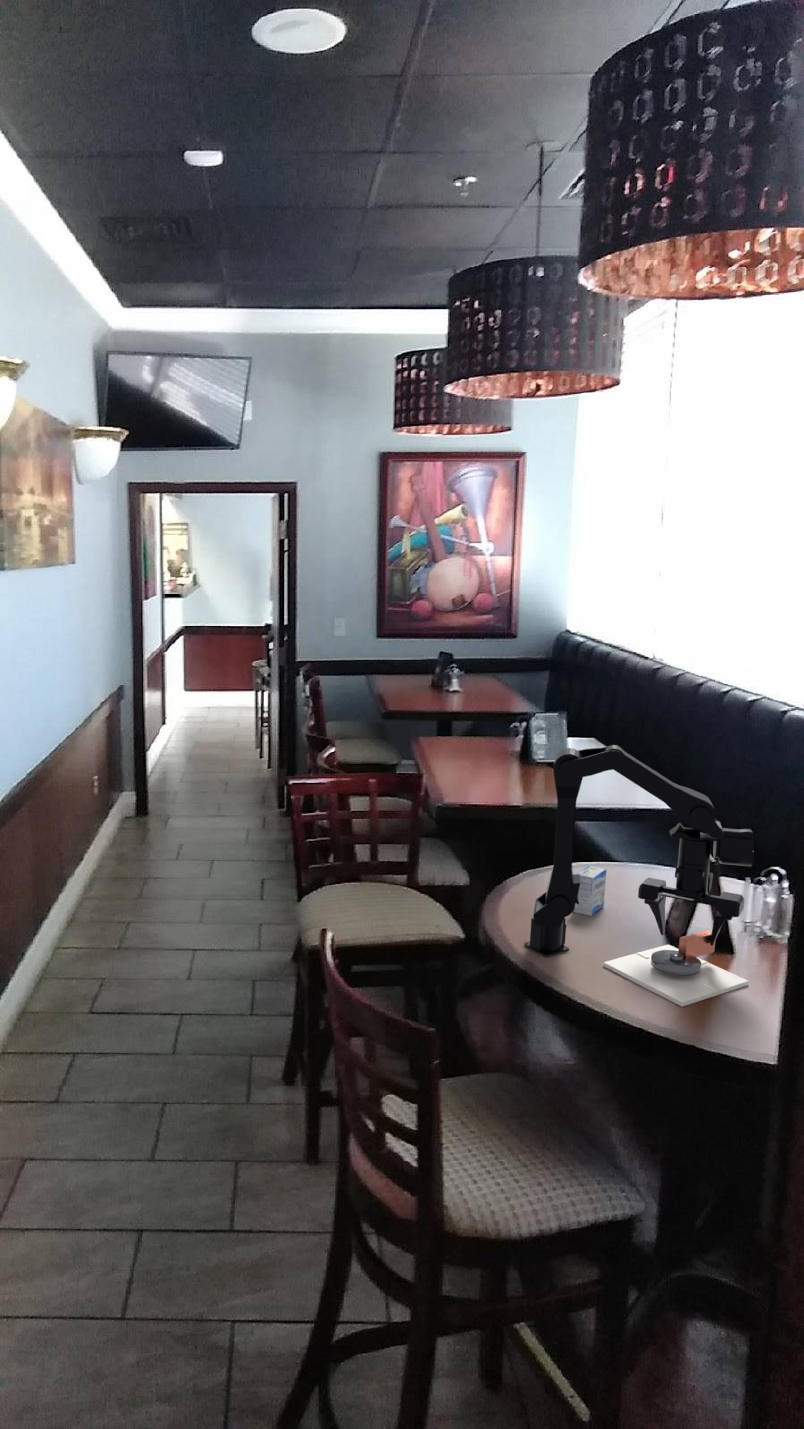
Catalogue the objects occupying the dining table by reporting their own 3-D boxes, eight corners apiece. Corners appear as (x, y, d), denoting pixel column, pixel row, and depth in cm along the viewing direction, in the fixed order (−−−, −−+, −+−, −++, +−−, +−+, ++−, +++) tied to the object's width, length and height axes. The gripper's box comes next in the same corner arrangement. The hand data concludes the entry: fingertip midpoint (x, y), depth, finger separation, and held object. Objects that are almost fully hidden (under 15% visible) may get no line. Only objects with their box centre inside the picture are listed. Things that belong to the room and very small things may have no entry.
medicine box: (591, 916, 214) (594, 878, 213) (571, 912, 217) (574, 873, 215) (604, 906, 221) (607, 868, 219) (585, 902, 223) (588, 864, 222)
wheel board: (682, 1006, 174) (682, 998, 173) (603, 966, 189) (603, 958, 189) (748, 984, 184) (748, 977, 183) (668, 948, 199) (668, 941, 199)
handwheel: (728, 965, 187) (731, 939, 187) (677, 979, 180) (679, 953, 179) (691, 947, 195) (693, 923, 194) (640, 961, 187) (642, 936, 186)
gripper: (752, 859, 191) (745, 936, 193) (655, 842, 200) (649, 917, 202) (742, 874, 181) (734, 955, 184) (640, 856, 190) (634, 934, 192)
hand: (687, 939), depth 191 cm, fingers open, 9 cm apart
